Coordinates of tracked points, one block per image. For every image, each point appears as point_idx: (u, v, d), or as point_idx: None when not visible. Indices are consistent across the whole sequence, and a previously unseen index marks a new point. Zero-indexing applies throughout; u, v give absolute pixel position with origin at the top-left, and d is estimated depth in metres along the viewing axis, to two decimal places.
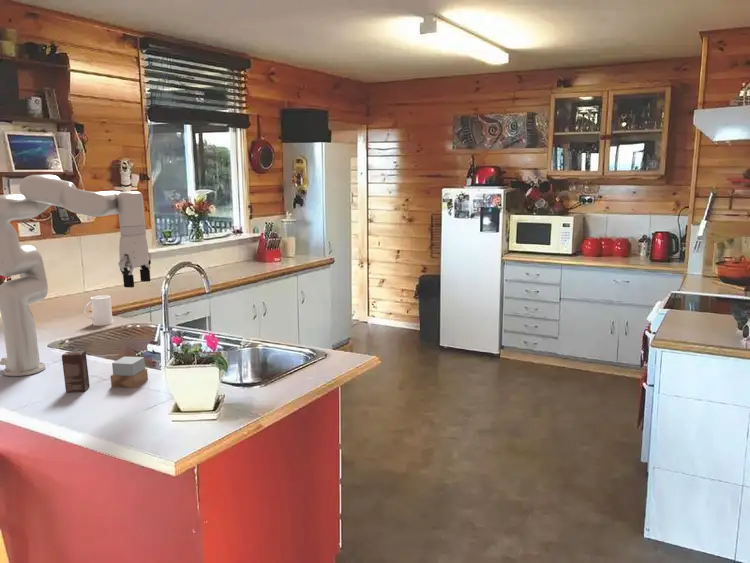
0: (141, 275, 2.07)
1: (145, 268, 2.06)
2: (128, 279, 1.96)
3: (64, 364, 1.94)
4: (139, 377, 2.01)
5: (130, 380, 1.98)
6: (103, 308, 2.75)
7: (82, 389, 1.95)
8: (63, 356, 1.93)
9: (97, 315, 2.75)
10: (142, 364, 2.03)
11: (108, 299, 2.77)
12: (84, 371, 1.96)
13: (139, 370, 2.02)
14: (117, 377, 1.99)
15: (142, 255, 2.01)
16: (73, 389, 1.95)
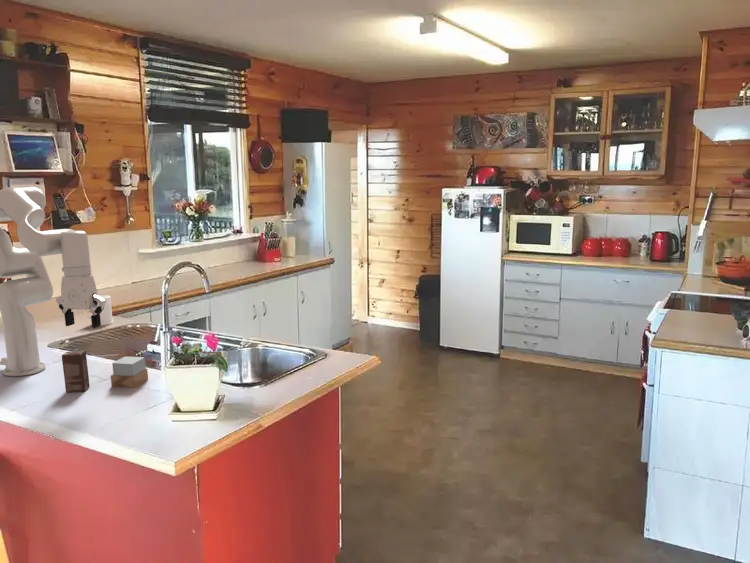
0: (68, 319, 1.95)
1: (70, 311, 1.96)
2: None
3: (64, 364, 1.94)
4: (139, 377, 2.01)
5: (130, 380, 1.98)
6: None
7: (82, 389, 1.95)
8: (63, 356, 1.93)
9: None
10: (142, 364, 2.03)
11: (108, 299, 2.77)
12: (84, 371, 1.96)
13: (139, 370, 2.01)
14: (117, 377, 1.99)
15: None
16: (73, 389, 1.95)
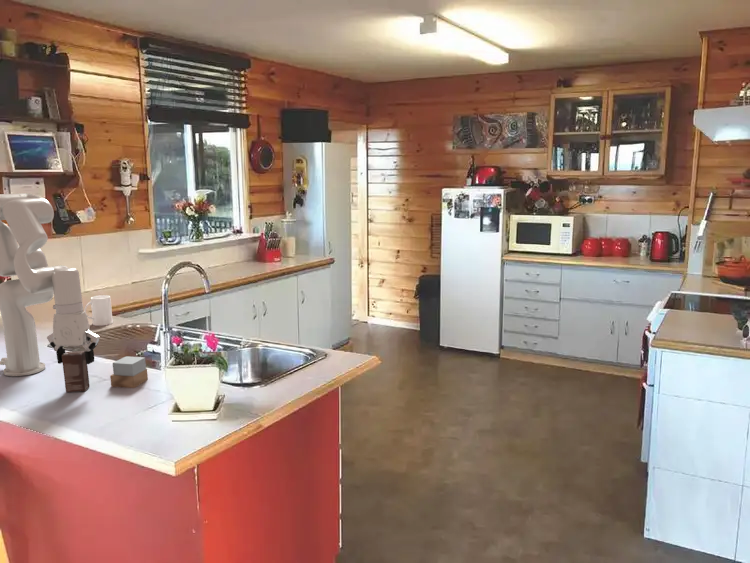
0: (60, 357, 1.95)
1: (61, 348, 1.96)
2: (93, 353, 1.95)
3: (64, 364, 1.94)
4: (139, 377, 2.01)
5: (130, 380, 1.98)
6: (103, 308, 2.75)
7: (82, 389, 1.95)
8: (63, 356, 1.93)
9: (97, 315, 2.75)
10: (142, 364, 2.03)
11: (108, 299, 2.77)
12: (84, 371, 1.96)
13: (139, 370, 2.01)
14: (117, 377, 1.99)
15: None
16: (73, 389, 1.95)
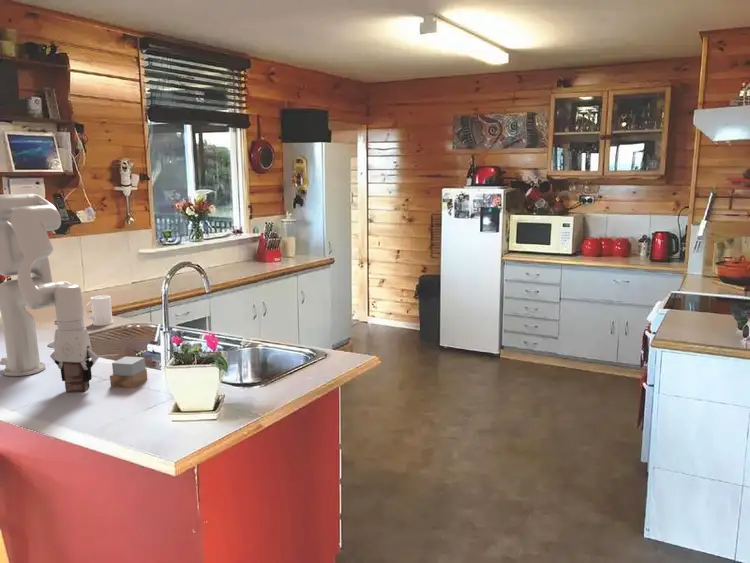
0: None
1: None
2: None
3: (64, 364, 1.94)
4: (138, 377, 2.01)
5: (130, 380, 1.98)
6: (103, 308, 2.75)
7: (82, 389, 1.95)
8: None
9: (97, 315, 2.75)
10: (142, 364, 2.03)
11: (108, 299, 2.77)
12: None
13: (139, 370, 2.02)
14: (116, 377, 1.99)
15: None
16: (73, 389, 1.95)
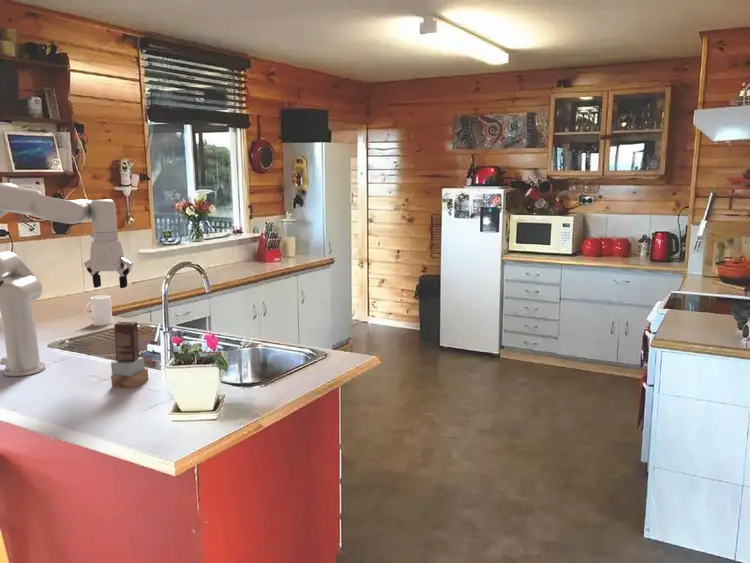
0: (96, 281, 2.13)
1: (97, 274, 2.14)
2: (126, 279, 2.13)
3: (116, 333, 1.98)
4: (139, 377, 2.01)
5: (131, 380, 1.98)
6: (103, 308, 2.75)
7: (132, 359, 2.00)
8: (116, 325, 1.98)
9: (97, 315, 2.75)
10: (141, 364, 2.03)
11: (108, 299, 2.77)
12: (135, 341, 2.00)
13: (137, 370, 2.01)
14: (118, 377, 1.99)
15: None
16: (124, 358, 1.99)
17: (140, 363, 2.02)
